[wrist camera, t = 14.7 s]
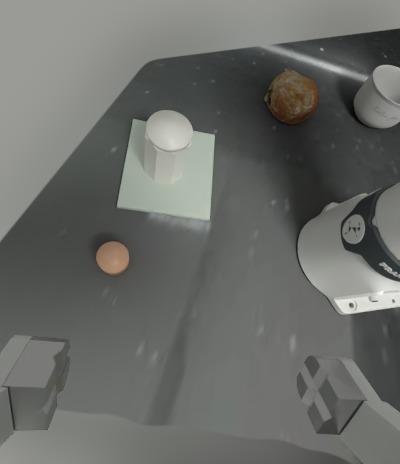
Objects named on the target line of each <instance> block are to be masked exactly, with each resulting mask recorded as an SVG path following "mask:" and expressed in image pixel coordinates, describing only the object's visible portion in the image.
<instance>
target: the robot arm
mask: <svg viewBox="0 0 400 464" xmlns="http://www.w3.org/2000/svg"><path fill="white" fill-rule="evenodd" d="M298 257H299V261H300V264H301V267H302V269H303V271H304V273H305V275H306V276H307V278H308V279H309V280H310V282H311V283H312V284H313V285H314V286H315V287H316V288H317V289H318V290H319V291H321V292H322V293H323V294H324V295H325V296H327V298H328V299H329V300H330V302H331V304H332V305H333V307H334V308H335V310H336V311H337V312H338V313H340V314H342V315H346V314H353V313H360V312H367V311H374V310H381V309H388V308H394V307H400V182H399V183H397V184H391V185H388V186H385V187H383V188H380V189H378V190H376V191H374V192H372V193H370V194H369V195H367V194H360V195H358V196H356V197H354V198H351V199H349V200H347V201H345V202H343V203H341V204H338V203H334V202H332V203H330V204H328V205H326V206H325V208H324V209H323V211H322V212H321V214H320V215H318V216H317V217H315V218H313V219H311V220H310V221H309V222H308V223H307V224H306V225H305V226H304V227H303V229H302V230H301V233H300V235H299V239H298ZM349 304H350V305H351V307H350V306H349ZM69 348H70V342H69V340H68V339H58V338H48V337H37V336H24V335H15V336H14V337H12V338H11V339H10V340H9V342H8V343H7V345H6V346H5V348H4V349H3V351H2V352H1V353H0V446H1V445H2V444H3V443H4V442H5V441H6V440H7V439H8V438H9V437H10V436H11V435H12V434H13V433H14V431H24V430H48V428H49V425H50V423H51V420H52V417H53V415H54V412H55V410H56V407H57V395H58V394H59V393H61V392H62V391H63V388H64V385H65V383H66V379H67V375H68V371H69V364H70V358H69V357H68V356H67V353H68V351H69ZM304 363H305V365H306V367H305V368H304V369H302V370H301V371H300V372H299V375H298V377H297V389H298V393H299V395H300V398H301V400H302V401H303V402H304V403H305V404H306V405H307V406H308V411H307V414H308V416H309V418H310V421H311V423H312V425H313V428H314V430H315V432H316V434H328V435H340V436H339V437H340V438H341V439H342V440H343V441H344V442H345V444H346V445H347V446H348V447H349V448H350V449H351V450H352V451H353V453H354V454H355V455H356V456H357V457H358V458H359V459H360V460H361V462H362V463H363V464H400V412H398V411H397V410H396V409H394V408H393V407H392V406H391V405H389V404H388V403H387V402H382V401H381V400H380V398H379V397H378V395H377V394H376V392H375V391H374V390H373V388H372V387H371V385H370V384H369V382H368V381H367V380H366V378H365V377H364V375H363V374H362V373H361V371H360V370H359V368H358V367H357V365H356V364H355V363H354V361H353V360H351V359H350V358H343V357H330V356H312V355H311V356H309V357H307V359H306V361H305V362H304Z"/></svg>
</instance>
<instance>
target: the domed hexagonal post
mask: <svg viewBox="0 0 400 464" xmlns="http://www.w3.org/2000/svg"><path fill="white" fill-rule="evenodd" d="M192 135H193V129H192V126H191V124H190V122H189V121H188V119H187V118H186V117H184V116H183V115H182V114H180V113H178V112H175V111H171V110H162V111H158V112H156V113H154V114H153V115H151V116H150V117H149V119H148V121H147V124H146V133H145V153H144V171H145V172H146V173H147V174H148V175H149V177H150V178H151V179H152V180H153V181H154V182H157V183H163V184H172V183H173V182H175V181H176V180H178V179H179V178H181V177H182V175H183V172H184V168H185V164H186V161H187V157H188V154H189V150H190V147H191V139H192Z"/></svg>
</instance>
